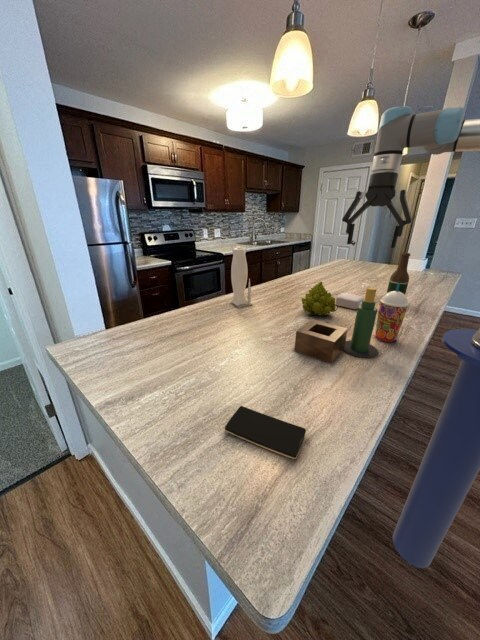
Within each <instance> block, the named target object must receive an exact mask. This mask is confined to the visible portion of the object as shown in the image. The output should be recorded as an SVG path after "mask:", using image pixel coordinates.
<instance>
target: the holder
mask: <svg viewBox="0 0 480 640" xmlns="http://www.w3.org/2000/svg"><path fill="white" fill-rule="evenodd" d="M348 332H349V328H347V327H343V326H340V325H336V324H332V323H329V322H324V321H321V320H317V319H313V318H312V319H310V320H309V321H308V322H306V323H305V324H304V325H302V326H301V327H299V328H298V329H297V330H295V337H294V339H295V340H294V341H295V342H294V347H293V351H294V352H297V353H300V354H303V355H306V356H309V357H311V358H314V359H317V360H320V361H323V362H326V363H329V364H332V363H333V362H334V360H336V358H338V356H339V355H340V354H341V353H342V351H343V348H344V347H345V342H346V341H347V336H348Z"/></svg>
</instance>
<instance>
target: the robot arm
mask: <svg viewBox="0 0 480 640" xmlns="http://www.w3.org/2000/svg"><path fill="white" fill-rule="evenodd" d="M412 111H413V110H412V107H410V106H407V105H403V106H393V107H390V108H388V109H386V110H385V111H384V112H383V113H382V114H381V117H380V120H379V121H380V122H379V126H378V129H377V137H376V142H375V149H374V153H373V159H372V165H371V170H370V172H371V173H372V174H369V175H370V176H369V180H368V186H367V190H366V191H361V190H358V191H356V193H355V197H354V200H353V201H352V202H351V204H350V206H349V207H348V208H347V211H346V213H345V214H344V216H343V217H342V219H341V221H342V222H344V223H346V229H345V233H346V234H348V235H347V241H346V245H352V243H353V237H354V231H355V225H356V224H355V223H354V222H355V221H356V220H357V219H358V218H359V217H360V216H361V215H362V214H363V213H364V212H365V211H366V210H368V209H369V208H370V207H387V209H388V210H389V211H390V213H391V215H392V216H393V218H394V219H395V220H396V223H397V225H395V228H394V232H393V236H392V241H391V245H390V248H391V249H395V248H396V245H397V240H398V237H399V238H400V237H402V236H403V232H404V228H405V226H406V225H410V224H412V223H413V219H412V215H411V211H410V207H409V204H408V201H407V190H406V189H402V190H397V191H396V186H397V182H398V177H399V174H398V172H399V171H400V169H401V163H402V158H403V154H404V150H405V149H409V148H416V147H423V149H424V150H425V151H426V153H428V154H430V155H434V156H435V155H436V156H437V155H441V154H444V153H455V152H480V118H471V119H466V120H464V118H465V108H464V107H463V106H457V107H445V108H443V109H438V110H433V111H432V110H431V111H427V112H422V113H416V114H413V113H412ZM395 197H397V199H399V203H400V204H401V209H402V213H403V216H404V219H405V220H404V219H403V217H402V215H401V214H400V213H399V211H398V210H397V207H396V206H395V205H394V203H393V202H392V200H393V199H394V198H395ZM364 198H366V201H365V202H364V203H363V204H362V206H361V207H359V208H358V209H357V210H356V208H357V206H358V205H359V204H360V202H361V200H363V199H364ZM355 210H356V212H355ZM353 213H354V214H353ZM477 330H478V331H477V332H476V333H475V334H474V335H473V337H472V339H471V343H472V344H473V345H474V346H475V347H476V348H478V349H480V328H478V329H477Z"/></svg>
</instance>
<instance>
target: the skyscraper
mask: <svg viewBox="0 0 480 640" xmlns="http://www.w3.org/2000/svg"><path fill="white" fill-rule="evenodd" d="M233 246H235V247H234V248H233ZM230 247H231V250H232V251H231V252H232V261H231V268H230V269H231V270H230V279H231V287H232V292H233V295H232V299H231V304H232V305H234V307H237V308H238V309H239V308H243V307H250V306H252V305H253V304H252V287H251V278H248V277H249V276H248V274H249V273H248V271H249V270H248V262H247V256H246V253H247V249H248V248H247V246H244V245H243V246H242V245H241V244H239V243H231V244H230ZM247 282H248V287H247ZM246 287H247V300H246V296H245V292H246Z"/></svg>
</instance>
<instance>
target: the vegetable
mask: <svg viewBox="0 0 480 640" xmlns="http://www.w3.org/2000/svg"><path fill="white" fill-rule="evenodd" d="M301 304H302V308H303V310H304V312H306V313H308V316H309V317H310V316H314V315H317V316H321V317H325V316H327V315H328V314H331V313H333V312H334V313H335V312H336V311H337V310H338V309H339V306H338V305H336V297H333V296H332V294H331V291H330V292H328V290H327V289H326V288H325V286H324V285H323V281H319V282H318V283H316V284H315V285H314V286H313V287H310V289H308V293H305V297H301Z"/></svg>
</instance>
